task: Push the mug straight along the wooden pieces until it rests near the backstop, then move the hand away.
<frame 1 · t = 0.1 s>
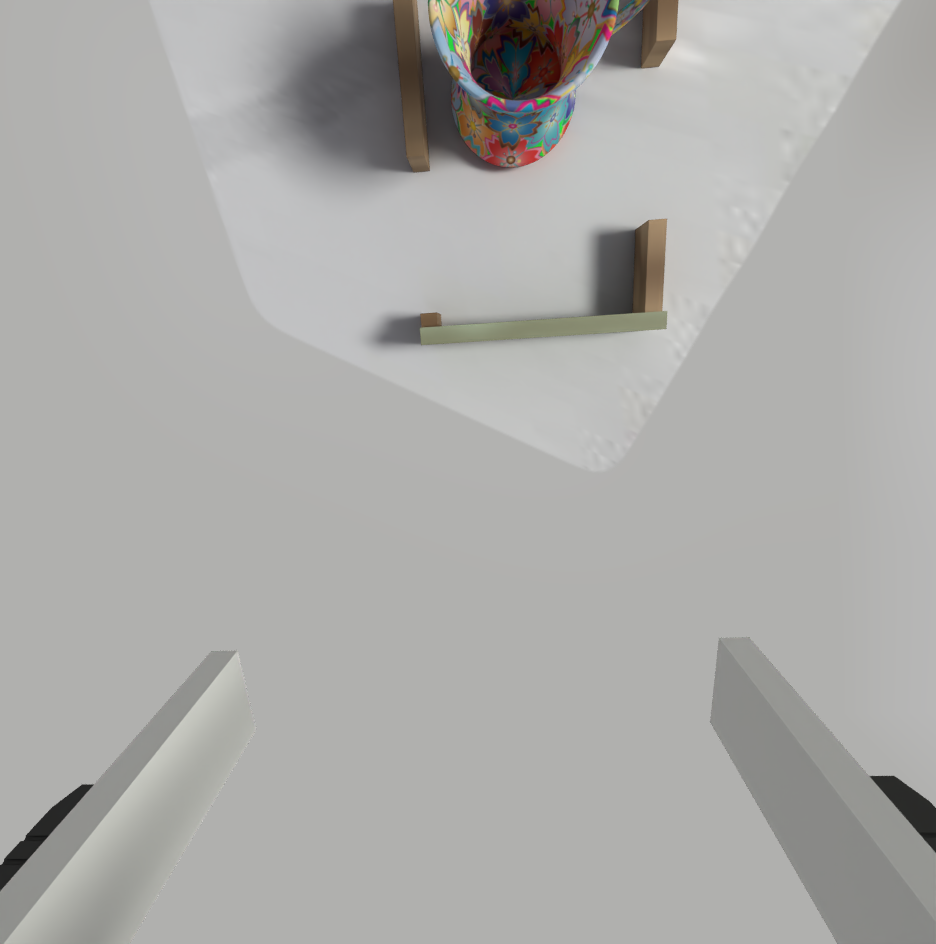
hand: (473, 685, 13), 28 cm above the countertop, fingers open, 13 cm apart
mug: (530, 97, 32), on the countertop
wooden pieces: (532, 177, 34), on the countertop
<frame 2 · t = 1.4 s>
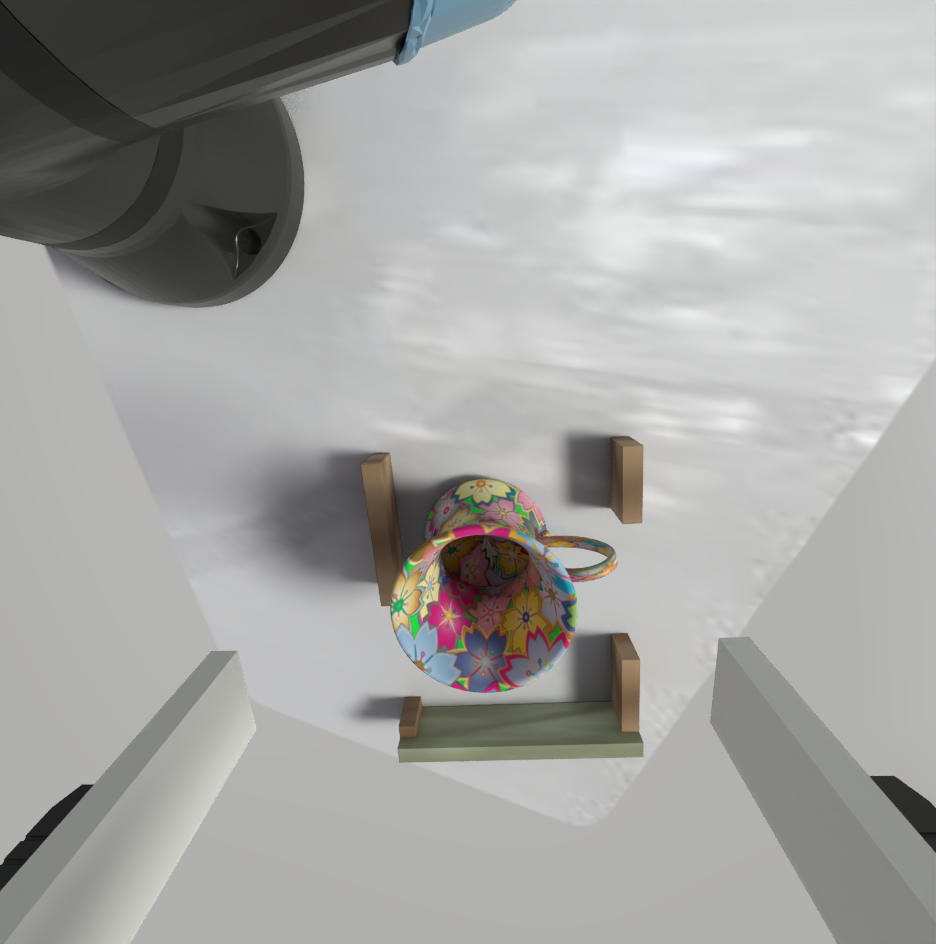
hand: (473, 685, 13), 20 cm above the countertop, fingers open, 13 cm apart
mug: (503, 526, 33), on the countertop
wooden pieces: (508, 591, 34), on the countertop
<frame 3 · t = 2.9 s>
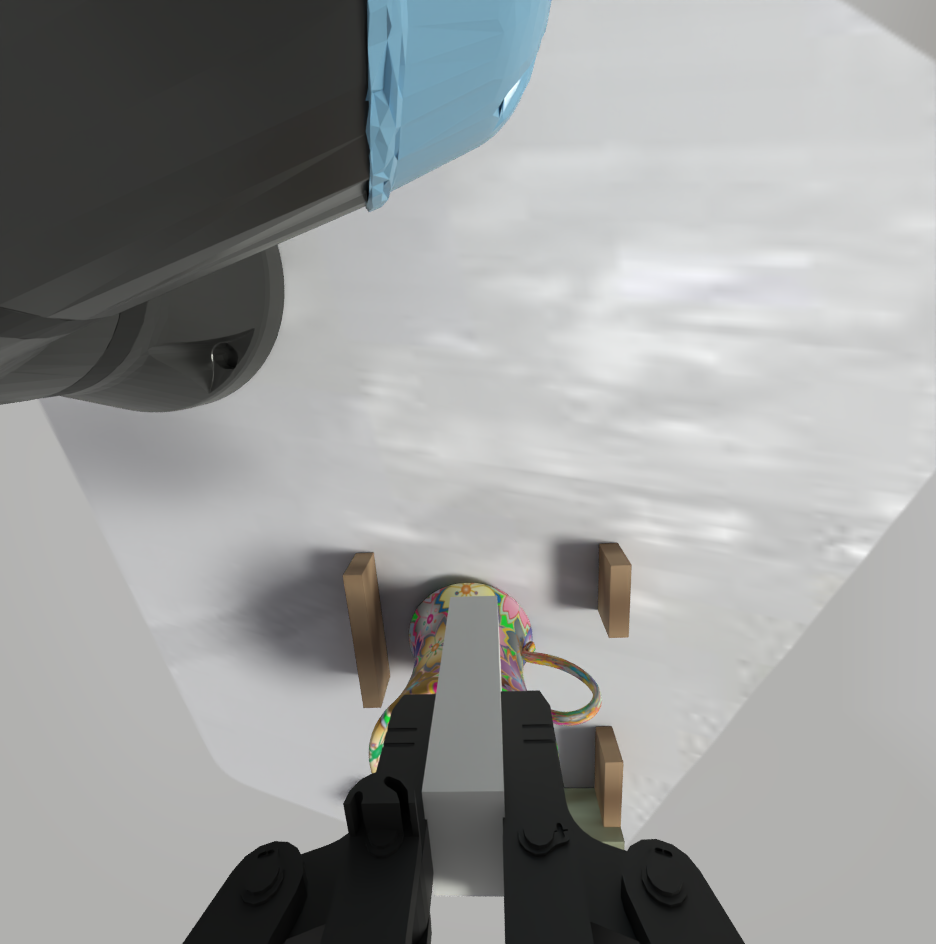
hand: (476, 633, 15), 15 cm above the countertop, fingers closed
mug: (489, 623, 32), on the countertop
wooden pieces: (492, 684, 34), on the countertop
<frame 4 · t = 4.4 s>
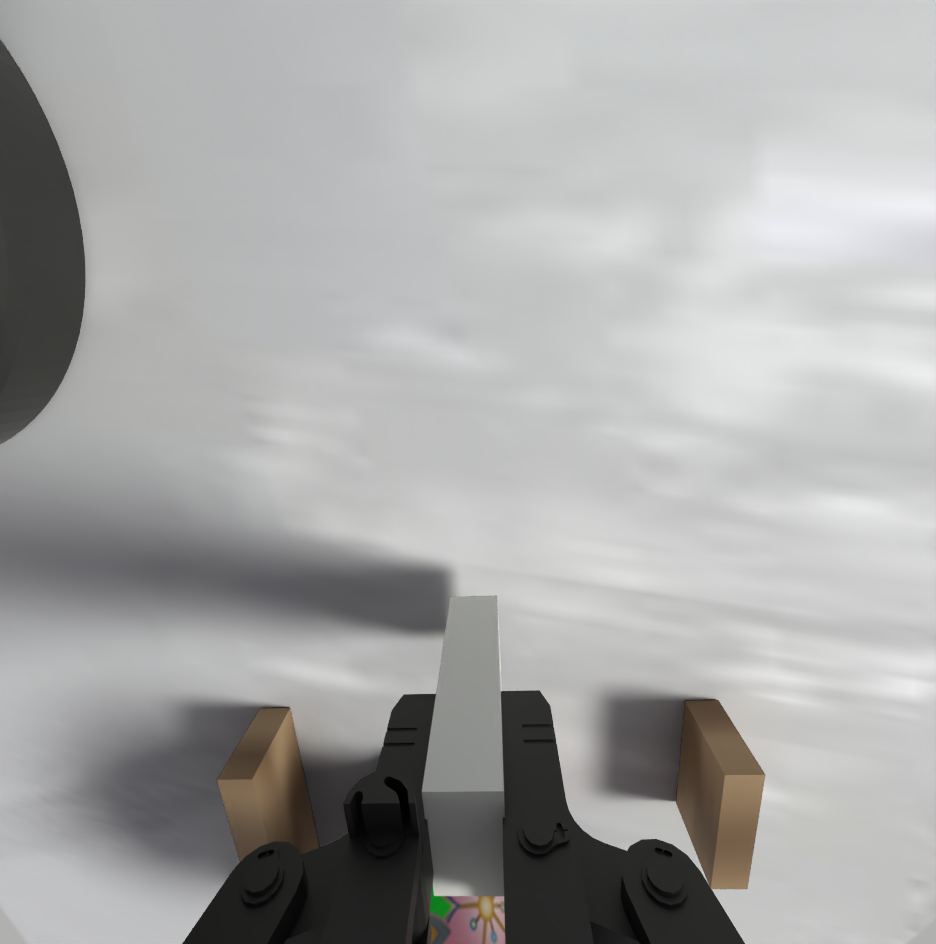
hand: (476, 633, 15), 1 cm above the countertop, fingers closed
mug: (490, 815, 19), on the countertop
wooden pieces: (495, 904, 21), on the countertop
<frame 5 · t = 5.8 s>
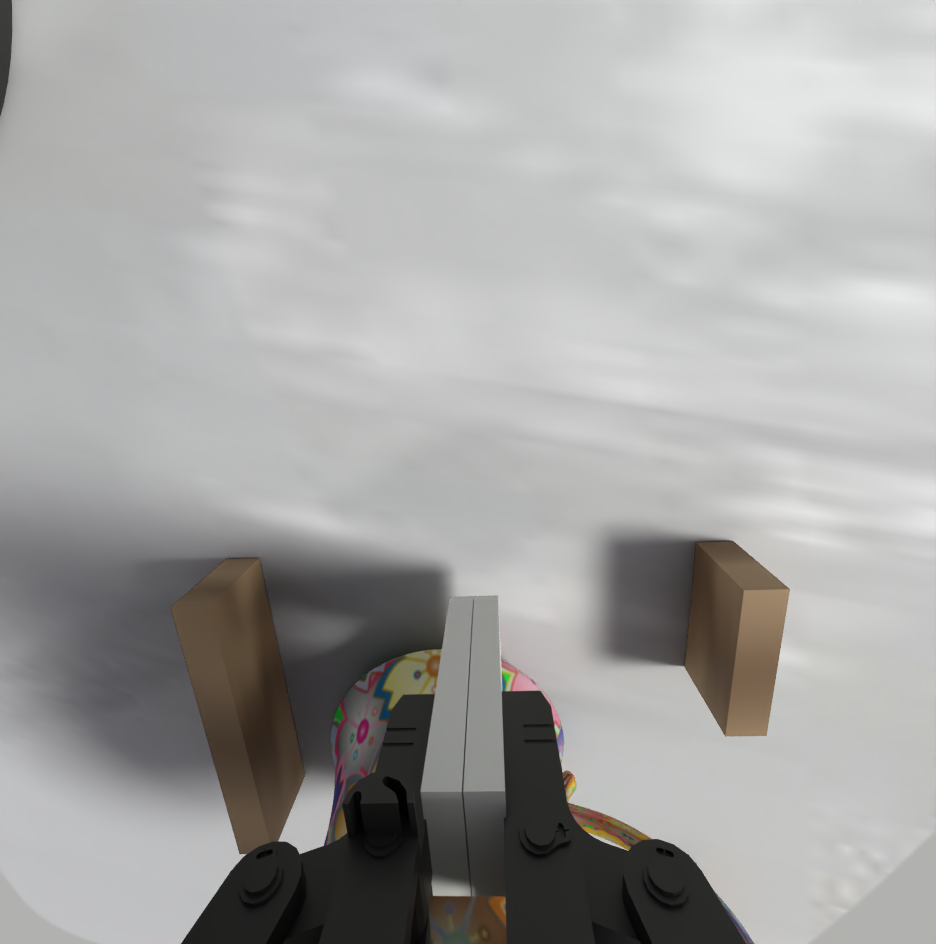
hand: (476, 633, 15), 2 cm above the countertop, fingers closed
mug: (482, 712, 18), on the countertop
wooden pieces: (487, 792, 19), on the countertop
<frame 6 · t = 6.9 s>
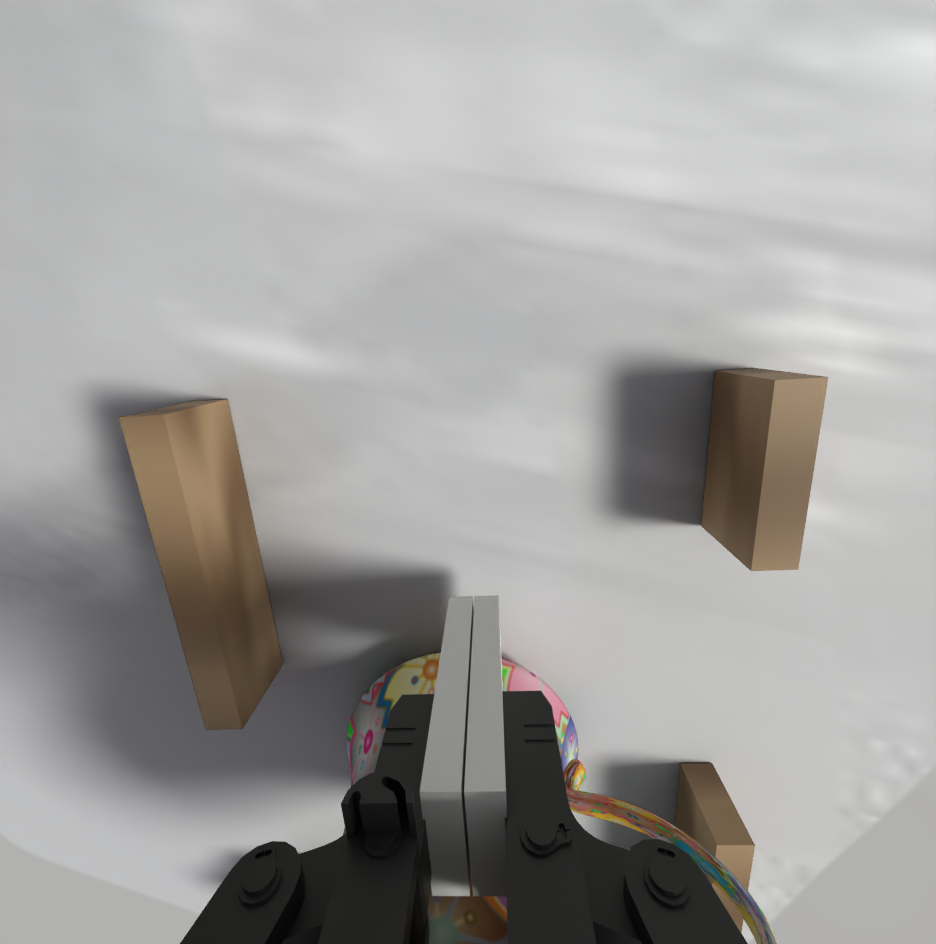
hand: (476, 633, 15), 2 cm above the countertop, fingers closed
mug: (494, 713, 18), on the countertop, touching hand
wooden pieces: (482, 682, 17), on the countertop
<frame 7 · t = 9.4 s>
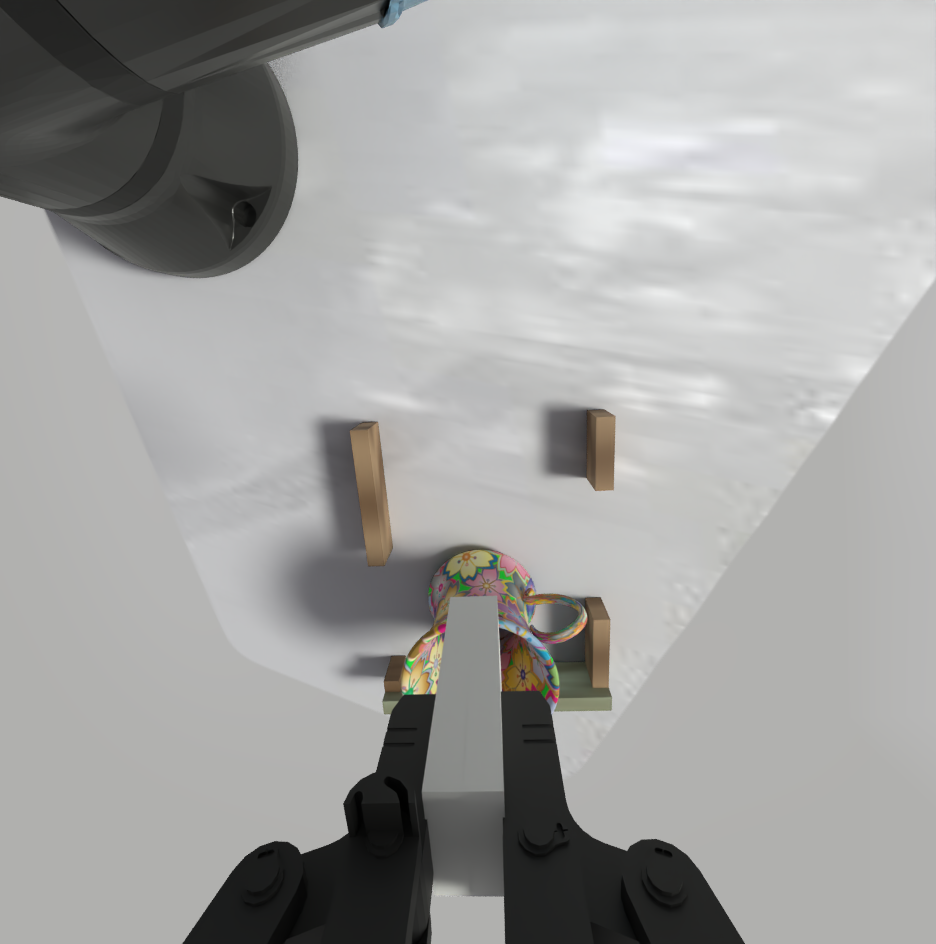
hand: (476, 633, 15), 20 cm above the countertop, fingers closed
mug: (497, 584, 37), on the countertop
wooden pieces: (488, 555, 36), on the countertop
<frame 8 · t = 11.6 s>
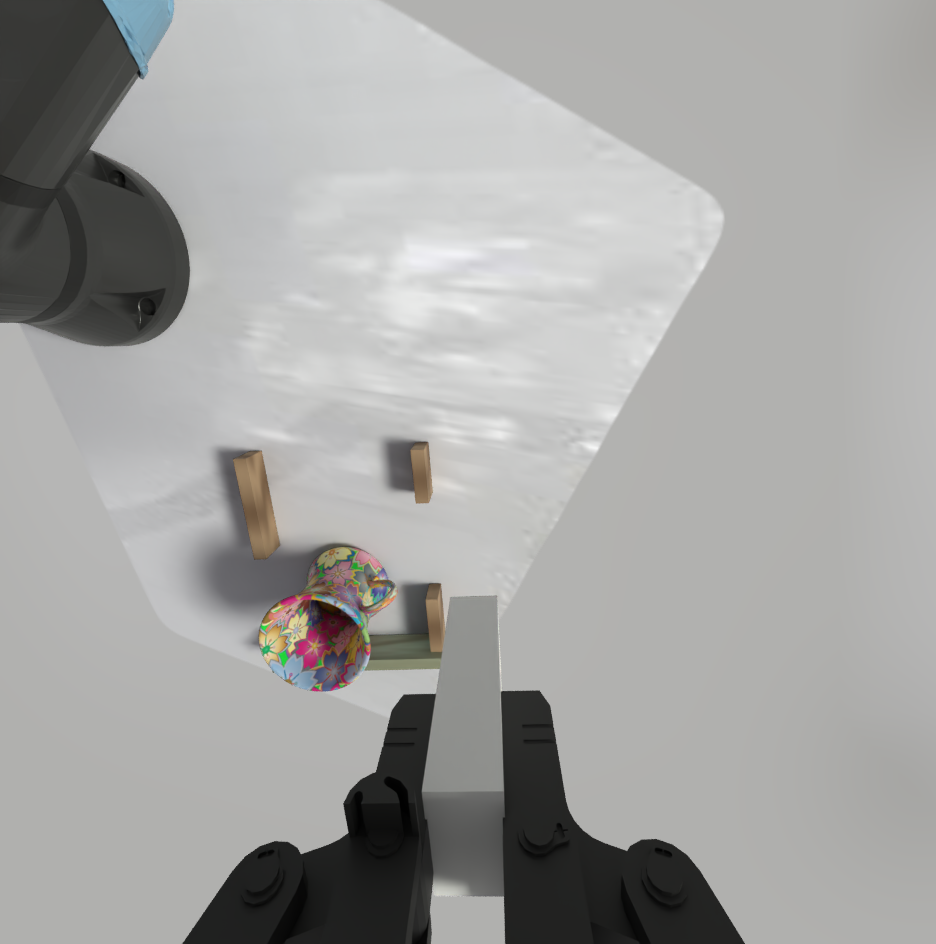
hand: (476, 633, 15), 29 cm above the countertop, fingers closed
mug: (362, 573, 48), on the countertop
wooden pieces: (353, 551, 47), on the countertop
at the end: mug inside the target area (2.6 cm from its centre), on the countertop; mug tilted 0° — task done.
